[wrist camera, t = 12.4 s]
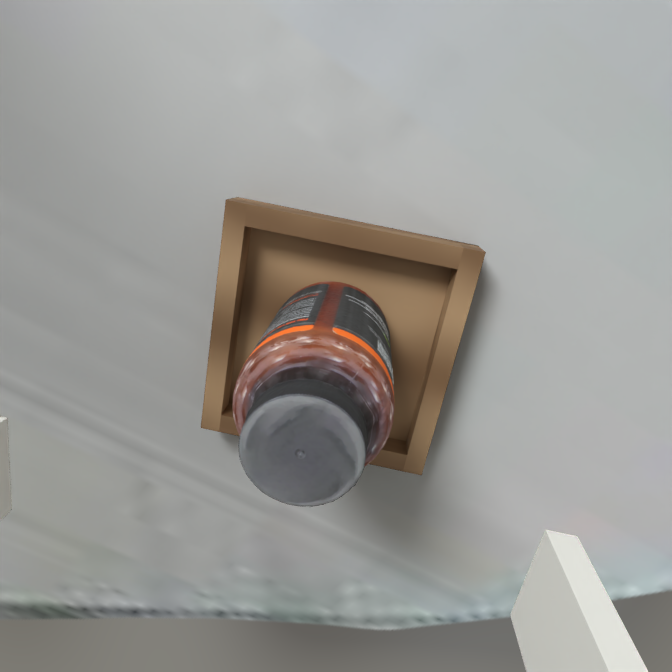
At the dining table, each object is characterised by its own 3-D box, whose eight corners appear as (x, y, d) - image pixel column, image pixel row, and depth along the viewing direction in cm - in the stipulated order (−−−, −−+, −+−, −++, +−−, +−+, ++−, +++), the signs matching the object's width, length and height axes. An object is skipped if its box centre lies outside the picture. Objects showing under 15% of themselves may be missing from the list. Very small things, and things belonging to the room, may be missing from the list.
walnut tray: (238, 197, 25) (225, 199, 23) (477, 245, 24) (485, 252, 23) (212, 410, 29) (200, 427, 27) (419, 454, 28) (421, 475, 27)
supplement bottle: (255, 349, 27) (170, 473, 16) (313, 255, 25) (261, 323, 14) (350, 407, 27) (330, 563, 17) (413, 319, 25) (437, 431, 15)
